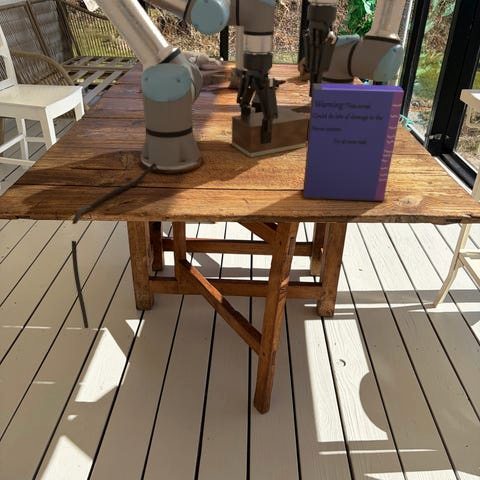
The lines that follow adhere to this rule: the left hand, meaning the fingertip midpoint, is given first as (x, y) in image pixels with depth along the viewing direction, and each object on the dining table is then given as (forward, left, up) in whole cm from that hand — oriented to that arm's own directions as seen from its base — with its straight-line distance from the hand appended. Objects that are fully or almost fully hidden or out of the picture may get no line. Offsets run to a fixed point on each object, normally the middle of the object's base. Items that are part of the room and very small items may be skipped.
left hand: (255, 136), depth 132 cm
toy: (+100, +48, -3) cm, 111 cm away
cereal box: (-26, -24, -3) cm, 36 cm away
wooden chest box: (+3, -3, -3) cm, 6 cm away
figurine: (+67, +14, -3) cm, 69 cm away
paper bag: (+97, +17, -3) cm, 98 cm away
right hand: (+12, -15, +9) cm, 21 cm away
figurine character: (+26, +2, -3) cm, 27 cm away
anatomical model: (+91, -8, -3) cm, 92 cm away
